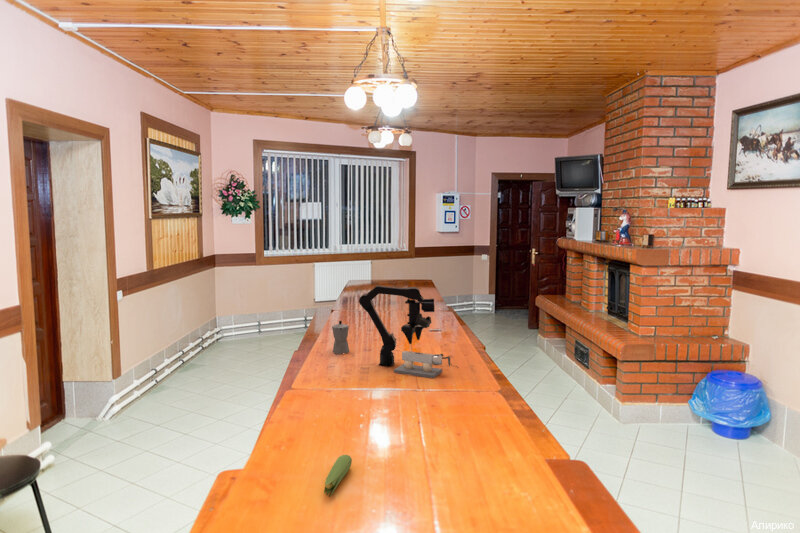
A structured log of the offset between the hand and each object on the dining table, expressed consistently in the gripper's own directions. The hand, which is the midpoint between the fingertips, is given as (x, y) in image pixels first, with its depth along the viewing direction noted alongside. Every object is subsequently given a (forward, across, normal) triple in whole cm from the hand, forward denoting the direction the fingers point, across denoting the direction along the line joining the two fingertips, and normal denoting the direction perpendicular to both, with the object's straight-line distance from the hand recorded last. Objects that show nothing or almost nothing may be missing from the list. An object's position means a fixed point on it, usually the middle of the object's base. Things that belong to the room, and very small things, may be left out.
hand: (414, 341), depth 264 cm
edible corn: (+12, -114, -29) cm, 118 cm away
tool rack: (+12, -11, -7) cm, 17 cm away
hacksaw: (+13, +13, -14) cm, 22 cm away
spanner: (+6, -11, -9) cm, 15 cm away
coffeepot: (+12, +4, +48) cm, 50 cm away
